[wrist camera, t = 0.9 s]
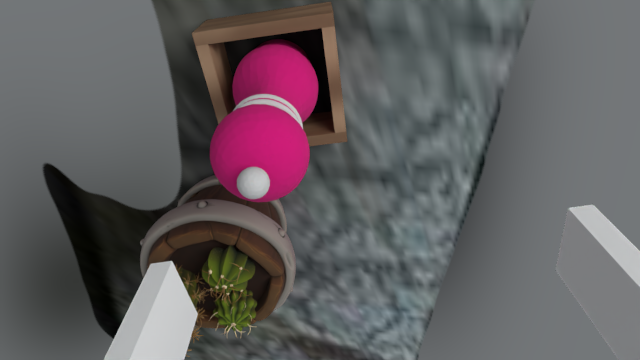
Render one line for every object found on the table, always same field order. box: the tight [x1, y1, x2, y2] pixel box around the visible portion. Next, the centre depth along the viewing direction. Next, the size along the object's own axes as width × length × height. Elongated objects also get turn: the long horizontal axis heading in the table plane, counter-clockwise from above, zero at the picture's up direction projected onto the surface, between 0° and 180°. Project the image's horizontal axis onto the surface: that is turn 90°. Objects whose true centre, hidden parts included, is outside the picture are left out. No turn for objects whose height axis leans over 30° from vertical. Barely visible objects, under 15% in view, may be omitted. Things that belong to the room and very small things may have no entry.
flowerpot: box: [130, 175, 296, 357], centre depth 38 cm, size 14×15×20 cm
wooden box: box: [192, 2, 347, 146], centre depth 36 cm, size 11×11×5 cm
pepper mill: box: [210, 39, 318, 202], centre depth 29 cm, size 7×7×20 cm
